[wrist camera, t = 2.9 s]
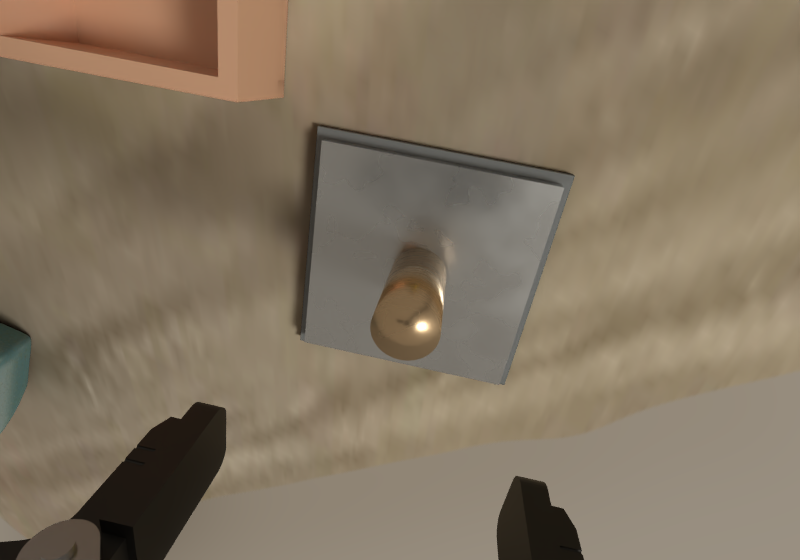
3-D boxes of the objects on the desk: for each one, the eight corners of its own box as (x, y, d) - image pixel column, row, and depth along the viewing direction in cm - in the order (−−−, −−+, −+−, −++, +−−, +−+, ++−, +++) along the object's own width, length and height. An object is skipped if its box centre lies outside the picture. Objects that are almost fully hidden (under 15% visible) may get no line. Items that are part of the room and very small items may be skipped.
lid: (561, 183, 22) (598, 225, 16) (498, 376, 27) (507, 464, 21) (326, 138, 23) (274, 160, 16) (308, 335, 28) (263, 408, 22)
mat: (573, 174, 22) (574, 175, 22) (503, 380, 28) (504, 384, 27) (320, 125, 23) (317, 126, 22) (302, 336, 28) (300, 340, 28)
